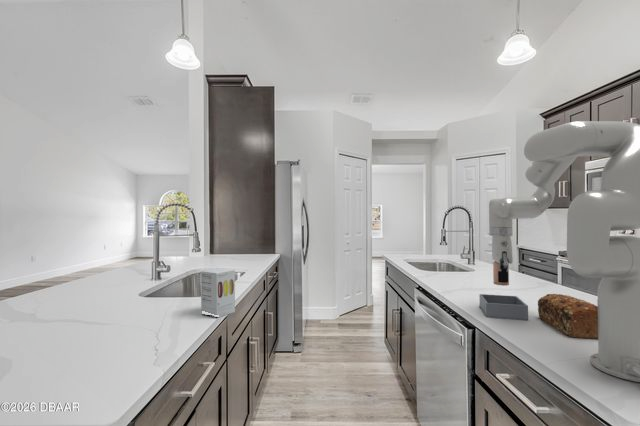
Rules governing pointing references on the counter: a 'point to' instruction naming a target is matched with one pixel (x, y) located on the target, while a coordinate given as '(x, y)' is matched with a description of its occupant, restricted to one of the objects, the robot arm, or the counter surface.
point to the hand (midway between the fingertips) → (501, 280)
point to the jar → (495, 274)
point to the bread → (569, 315)
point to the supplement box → (218, 291)
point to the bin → (503, 307)
